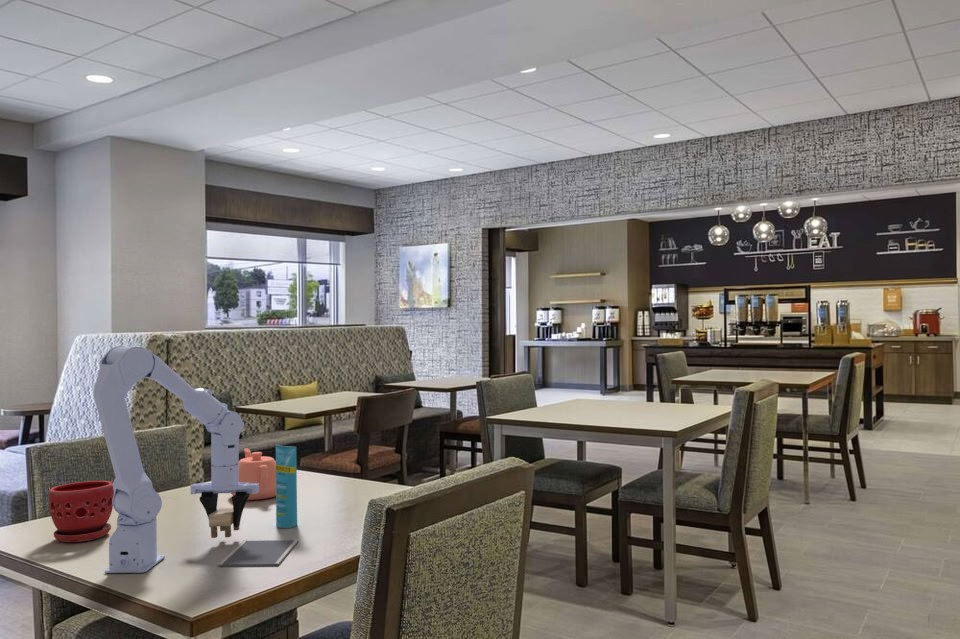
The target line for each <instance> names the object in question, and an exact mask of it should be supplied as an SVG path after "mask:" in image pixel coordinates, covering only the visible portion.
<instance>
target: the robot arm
mask: <svg viewBox="0 0 960 639" xmlns="http://www.w3.org/2000/svg"><path fill="white" fill-rule="evenodd" d="M142 379H149V380H153V381H155V382H157V383H158V384H159V385H161V386H162V387H164V389H166V390H167V391H169V392H170V393H171V394H173V395H175V396H176V397H178V398H179V399H180V400H182V406H183V410H185V411H186V412H187V413H189V415H191V416H192V417H193V418H195V419H196V420H197V421H199V422H201V424H203V425H204V426H205V429H206V430H207V432H208V433H210V434H211V435H210V437H211V440H210V442H211V444H210V446H211V447H210V448H211V450H210V452H211V454H210V458H211V459H210V460H211V461H210V464H211V467H210V468H211V469H210V470H211V471H210V472H211V474H210V476H211V477H210V478H211V482H205V483H193V484H191V485H190V495H196V494H201V495H200V496H199V502H200V503H201V505H202V507H203V508H204V511H205V513H206V515H207V519H208V520H209V515H210V514H211V513H213V512H214V511H216V510H217V509H218V500H219V494H231V493H236V495H234V496H233V495H232V496H231V501H232V507H233V511H234V518H233V524H232V525H234V527H238V526H239V527H240V525H241V519H242V515H243V512H244V509H245V506H246V503H247V501H248V500H247V499H248V497H249V495H250V493H252V494H257V493H258V492H259V483H243V482H239V464H238V463H239V461H240V460H239V457H240V456H239V454H240V451H239V446H240V445H239V441H240V434H241V433H242V431H243V429H244V427H245V422H243V420H242V416H240V414H239V413H238V412H236V411H233V410H229V409H228V406H229V405H228V404H226V403H224V402H221V401H219V400H218V399H217V398H216V397H214V396H213V395H212V394H213V393H214V392H213V391H212V390H210V389H207V388H205V389H204V388H202V387H199V388H194V387H193V386H191V385H190V384H189V383H188V382H187V381H186V380H185V379H184V378H182V377H181V376H180V375H179V374H178V373H177V372H176V371H174V370H173V369H172V368H171V367H170V366H169V365H167V364H166V363H165V361H163V360H162V359H161V358H160V357H159V356H158V355H156V354H154V353H151V351H150V350H149V349H148V348H146V347H143V346H125V345H117V346H114V347H112V348H110V349H109V350H108V351H107V352H106V353H105V354H104V356H103V357H102V358H101V359H100V360H99V371H98V374H97V378H96V381H95V385H94V387H93V392H92V394H93V399H94V404H95V407H96V410H97V415H98V417H99V421H100V425H101V429H102V433H103V435H104V439H105V442H106V447H107V451H108V454H109V459H110V461H111V466H112V469H113V473H114V476H115V478H114V480H113V482H112V483H113V489H114V495H113V499H112V504H113V509H114V511H115V512H116V513H117V514H118V515H117V518H116V529H115V531H114V532H113V533H112V535H111V536H110V538H109V541H108V555H109V557H108V560H109V561H108V563H109V564H108V565H109V566H108V568H106V569H105V570H104V573H105V574H117V573H118V574H125V573H128V574H129V573H130V574H132V573H140V574H141V573H146V572H147V571H149V570H150V569H152V568H153V567H154V566H156V565H157V564H158V563H160V562H161V561H162V560H164V559H165V558H166V556H165V554H158V544H157V543H158V541H157V540H158V538H157V537H158V535H157V532H158V530H157V528H158V527H157V526H158V525H157V517H158V515H159V514H160V511H161V510H162V504H163V503H162V502H163V501H162V498H161V495H160V494H159V493H157V491H156V490H155V488H154V486H153V483H152V481H151V479H150V478H149V476H148V475H147V473H146V472H145V470H144V466H143V463H142V460H141V459H142V458H141V456H140V451H139V447H138V442H137V440H136V436H135V432H134V428H133V424H132V421H131V420H132V419H131V417H130V413H129V409H128V406H127V401H126V396H127V394H128V393H129V392H130V391H131V389H132V388H133V386H134V385H135V384H136V383H139V382H140V381H141V380H142Z"/></svg>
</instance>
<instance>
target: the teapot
mask: <svg viewBox="0 0 960 639" xmlns="http://www.w3.org/2000/svg"><path fill="white" fill-rule="evenodd" d="M243 450H244V458H241V459H240V460H239V463H238V464H239V482H243V483H259V492H258V493H257V494H252V493H250V495H249V497H248V499H247V501H254V500H264V499H269V498H274V497H276V459H274V457H271V456H262V455H263V452H262V451H254V452H251V450H250V448H249V447H245V448H244V449H243ZM230 494H231V495H232V496H234V495H236V493H230Z"/></svg>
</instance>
